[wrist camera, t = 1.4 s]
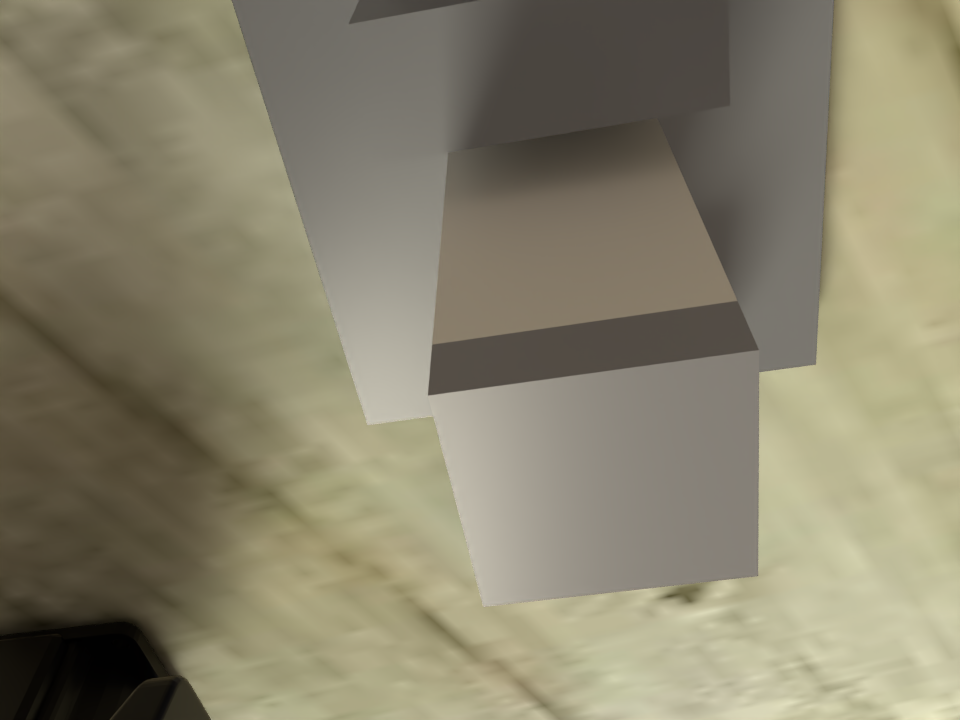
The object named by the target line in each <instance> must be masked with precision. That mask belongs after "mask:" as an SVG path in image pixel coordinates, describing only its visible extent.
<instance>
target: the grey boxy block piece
mask: <svg viewBox="0 0 960 720" xmlns="http://www.w3.org/2000/svg"><path fill="white" fill-rule="evenodd" d="M428 398H429V402H430V406H431V410H432V414H433V417H434V421H435V425H436V429H437V433H438V436H439V440H440V444H441V448H442V452H443V455H444V459H445V463H446V467H447V471H448V474H449V478H450V482H451V486H452V490H453V493H454V497H455V501H456V505H457V509H458V512H459V516H460V520H461V524H462V528H463V531H464V535H465V539H466V543H467V547H468V550H469V554H470V558H471V562H472V566H473V569H474V573H475V577H476V581H477V585H478V588H479V592H480V596H481V600H482V604H483V607H487V606H496V605H504V604H513V603H522V602H531V601H540V600H549V599H558V598H567V597H576V596H585V595H594V594H602V593H611V592H620V591H629V590H638V589H647V588H656V587H665V586H674V585H683V584H692V583H700V582H709V581H718V580H727V579H736V578H745V577H754V576H758V479H759V349H758V346H757V344H756V342H755V340H754V337H753V335H752V333H751V330H750V328H749V326H748V324H747V321H746V319H745V317H744V315H743V312H742V310H741V308H740V305H739V303H738V301H737V299H736V296H735V294H734V292H733V289H732V287H731V285H730V283H729V280H728V278H727V276H726V274H725V271H724V269H723V267H722V264H721V262H720V260H719V258H718V255H717V253H716V251H715V249H714V246H713V244H712V242H711V239H710V237H709V235H708V233H707V230H706V228H705V226H704V223H703V221H702V219H701V217H700V214H699V212H698V210H697V208H696V205H695V203H694V201H693V198H692V196H691V194H690V192H689V189H688V187H687V185H686V182H685V180H684V178H683V176H682V173H681V171H680V169H679V167H678V164H677V162H676V160H675V157H674V155H673V153H672V151H671V148H670V146H669V144H668V142H667V139H666V137H665V135H664V132H663V130H662V128H661V126H660V123H659V121H658V119H657V118H655V119H649V120H643V121H637V122H631V123H625V124H619V125H613V126H606V127H600V128H594V129H588V130H582V131H576V132H570V133H564V134H558V135H552V136H546V137H540V138H534V139H528V140H522V141H516V142H510V143H504V144H498V145H492V146H486V147H480V148H474V149H468V150H462V151H456V152H450V153H448V161H447V173H446V185H445V196H444V208H443V220H442V232H441V244H440V256H439V268H438V280H437V292H436V304H435V316H434V327H433V339H432V351H431V363H430V375H429V387H428Z"/></svg>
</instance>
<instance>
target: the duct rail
mask: <svg viewBox="0 0 960 720" xmlns="http://www.w3.org/2000/svg"><path fill="white" fill-rule="evenodd" d="M232 3H233V6H234V9H235V12H236V15H237V18H238V21H239V24H240V28H241V31H242V34H243V37H244V40H245V43H246V46H247V49H248V53H249V56H250V59H251V62H252V65H253V68H254V71H255V75H256V78H257V81H258V84H259V87H260V90H261V93H262V96H263V100H264V103H265V106H266V109H267V112H268V115H269V118H270V121H271V125H272V128H273V131H274V134H275V137H276V140H277V143H278V146H279V150H280V153H281V156H282V159H283V162H284V165H285V168H286V172H287V175H288V178H289V181H290V184H291V187H292V190H293V193H294V197H295V200H296V203H297V206H298V209H299V212H300V215H301V218H302V222H303V225H304V228H305V231H306V234H307V237H308V240H309V243H310V247H311V250H312V253H313V256H314V259H315V262H316V265H317V269H318V272H319V275H320V278H321V281H322V284H323V287H324V290H325V294H326V297H327V300H328V303H329V306H330V309H331V312H332V315H333V319H334V322H335V325H336V328H337V331H338V334H339V337H340V340H341V344H342V347H343V350H344V353H345V356H346V359H347V362H348V366H349V369H350V372H351V375H352V378H353V381H354V384H355V387H356V391H357V394H358V397H359V400H360V403H361V406H362V409H363V412H364V416H365V419H366V422H367V425H372V424H379V423H387V422H394V421H401V420H409V419H416V418H424V417H431V416H433V414H432V410H431V406H430V402H429V398H428V387H429V375H430V363H431V351H432V339H433V327H434V316H435V304H436V292H437V280H438V268H439V256H440V244H441V232H442V220H443V208H444V196H445V185H446V173H447V161H448V153H450V152H456V151H462V150H468V149H474V148H480V147H486V146H492V145H498V144H504V143H510V142H516V141H522V140H528V139H534V138H540V137H546V136H552V135H558V134H564V133H570V132H576V131H582V130H588V129H594V128H600V127H606V126H613V125H619V124H625V123H631V122H637V121H643V120H649V119H655V118H657V119H658V121H659V123H660V126H661V128H662V130H663V132H664V135H665V137H666V139H667V142H668V144H669V146H670V148H671V151H672V153H673V155H674V157H675V160H676V162H677V164H678V167H679V169H680V171H681V173H682V176H683V178H684V180H685V182H686V185H687V187H688V189H689V192H690V194H691V196H692V198H693V201H694V203H695V205H696V208H697V210H698V212H699V214H700V217H701V219H702V221H703V223H704V226H705V228H706V230H707V233H708V235H709V237H710V239H711V242H712V244H713V246H714V249H715V251H716V253H717V255H718V258H719V260H720V262H721V264H722V267H723V269H724V271H725V274H726V276H727V278H728V280H729V283H730V285H731V287H732V289H733V292H734V294H735V296H736V299H737V301H738V303H739V305H740V308H741V310H742V312H743V315H744V317H745V319H746V321H747V324H748V326H749V328H750V330H751V333H752V335H753V337H754V340H755V342H756V344H757V346H758V349H759V372H764V371H771V370H779V369H786V368H793V367H801V366H808V365H816V351H817V331H818V311H819V291H820V271H821V251H822V231H823V210H824V190H825V170H826V150H827V130H828V110H829V89H830V69H831V49H832V29H833V9H834V0H232Z"/></svg>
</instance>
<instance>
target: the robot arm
mask: <svg viewBox="0 0 960 720" xmlns="http://www.w3.org/2000/svg"><path fill="white" fill-rule="evenodd" d="M0 720H211V719H210V717H209V715H208V713H207V712H206V710H205V708H204V707H203V705H202V703H201V702H200V700H199V698H198V697H197V695H196V693H195V691H194V690H193V688H192V686H191V685H190V683H189V682H188V680H187V679H185V678H184V677H182V676H170V677H169V676H168V674H167V672H166V671H165V669H164V667H163V666H162V664H161V662H160V661H159V659H158V658H157V656H156V654H155V653H154V651H153V649H152V648H151V646H150V644H149V643H148V641H147V640H146V638H145V636H144V635H143V633H142V631H141V630H140V629H139V628H138V627H136V626H134V625H133V624H130V623H126V622H116V623H107V624H99V625H90V626H81V627H73V628H64V629H55V630H47V631H38V632H29V633H21V634H12V635H3V636H0Z"/></svg>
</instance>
